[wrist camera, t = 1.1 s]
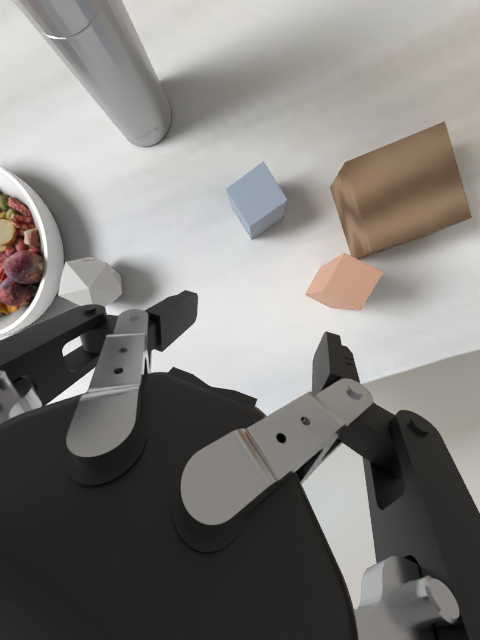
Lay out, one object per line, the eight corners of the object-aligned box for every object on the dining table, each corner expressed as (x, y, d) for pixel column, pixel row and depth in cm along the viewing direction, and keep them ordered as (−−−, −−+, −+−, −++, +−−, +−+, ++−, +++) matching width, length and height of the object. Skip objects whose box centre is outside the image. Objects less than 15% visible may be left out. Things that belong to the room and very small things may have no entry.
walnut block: (329, 188, 32) (344, 162, 26) (409, 156, 31) (444, 121, 25) (352, 261, 33) (372, 251, 27) (431, 233, 31) (471, 217, 25)
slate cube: (232, 209, 34) (226, 189, 28) (263, 186, 33) (263, 161, 27) (251, 239, 34) (249, 226, 28) (282, 218, 33) (287, 199, 27)
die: (143, 291, 37) (104, 247, 29) (108, 328, 34) (53, 291, 26) (117, 279, 41) (75, 238, 33) (83, 312, 37) (27, 275, 29)
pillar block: (304, 294, 34) (322, 290, 24) (319, 268, 33) (344, 253, 23) (331, 308, 33) (360, 310, 23) (346, 281, 33) (383, 272, 23)
